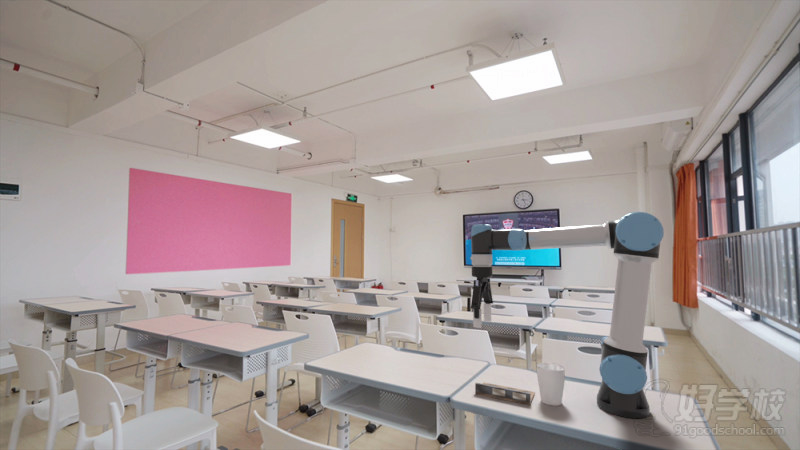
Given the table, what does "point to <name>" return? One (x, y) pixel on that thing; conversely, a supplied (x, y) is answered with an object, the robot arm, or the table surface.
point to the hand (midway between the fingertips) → (482, 324)
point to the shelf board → (504, 393)
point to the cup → (551, 383)
